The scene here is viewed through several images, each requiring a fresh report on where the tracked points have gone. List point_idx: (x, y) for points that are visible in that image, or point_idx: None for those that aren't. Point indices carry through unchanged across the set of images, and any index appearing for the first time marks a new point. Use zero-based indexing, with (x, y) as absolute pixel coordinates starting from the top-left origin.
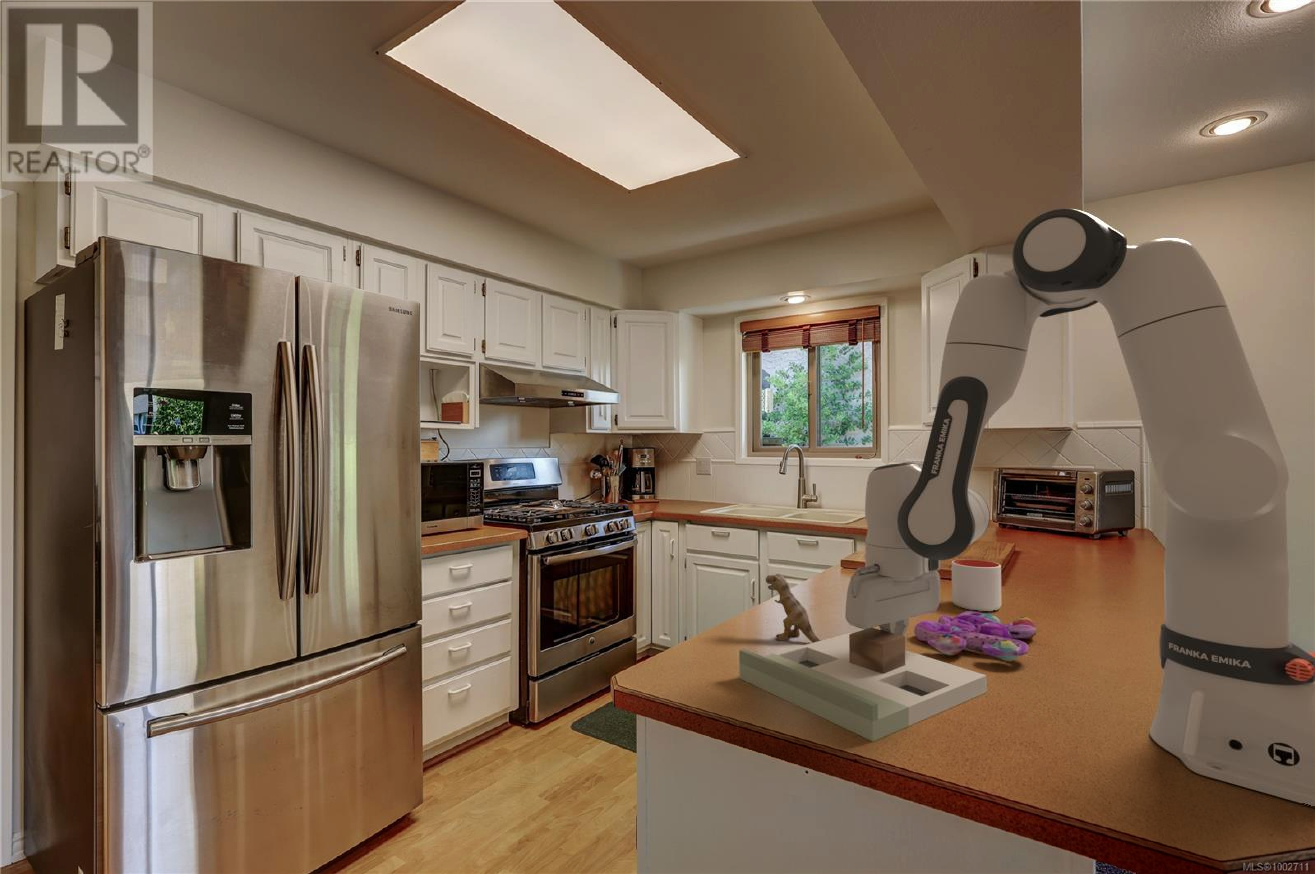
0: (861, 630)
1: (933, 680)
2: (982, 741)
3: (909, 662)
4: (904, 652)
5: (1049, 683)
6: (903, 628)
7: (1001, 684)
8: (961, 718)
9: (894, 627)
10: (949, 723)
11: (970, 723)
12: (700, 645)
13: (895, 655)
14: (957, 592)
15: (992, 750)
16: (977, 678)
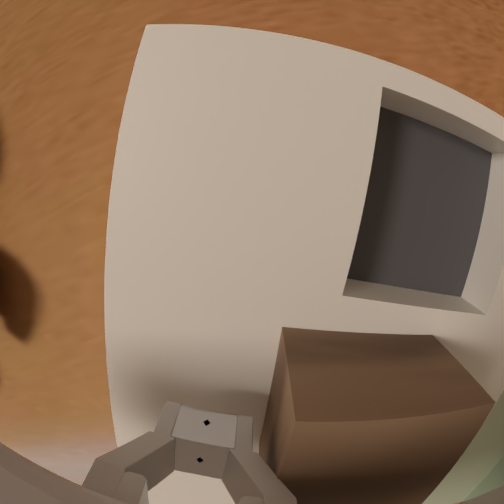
0: None
1: (370, 161)
2: (490, 18)
3: (231, 327)
4: (294, 360)
5: (9, 17)
6: (145, 461)
7: (68, 61)
8: (436, 57)
9: (251, 498)
10: (479, 82)
11: (443, 37)
12: None
13: (376, 364)
14: None
15: (501, 7)
16: (210, 28)
